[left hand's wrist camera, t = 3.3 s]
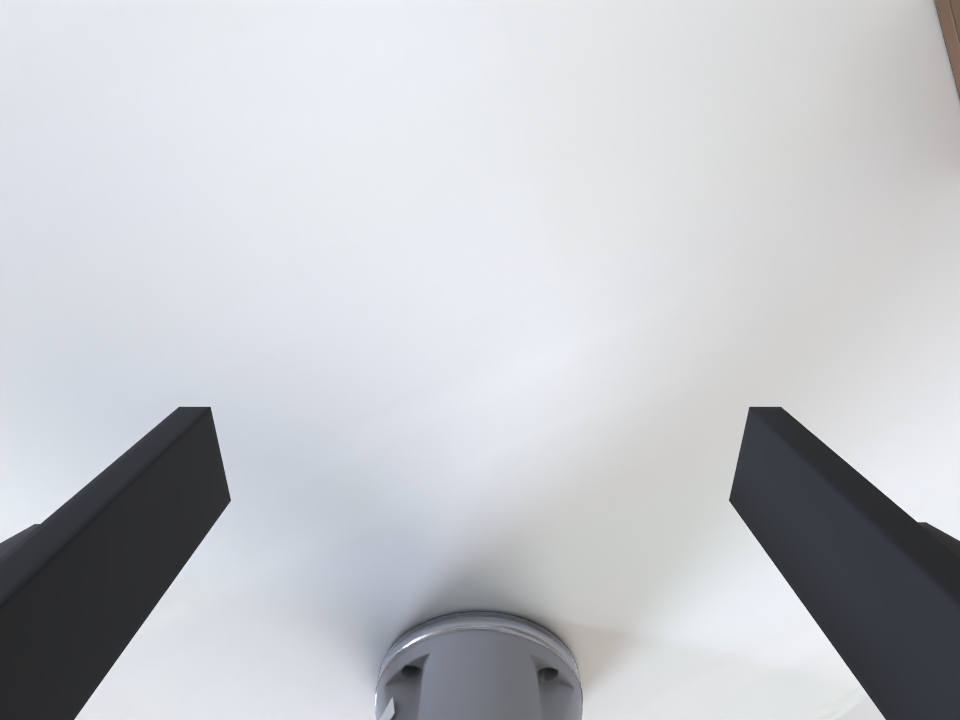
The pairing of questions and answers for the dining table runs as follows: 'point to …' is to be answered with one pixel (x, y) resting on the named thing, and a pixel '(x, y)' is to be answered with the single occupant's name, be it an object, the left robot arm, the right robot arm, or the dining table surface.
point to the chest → (951, 32)
